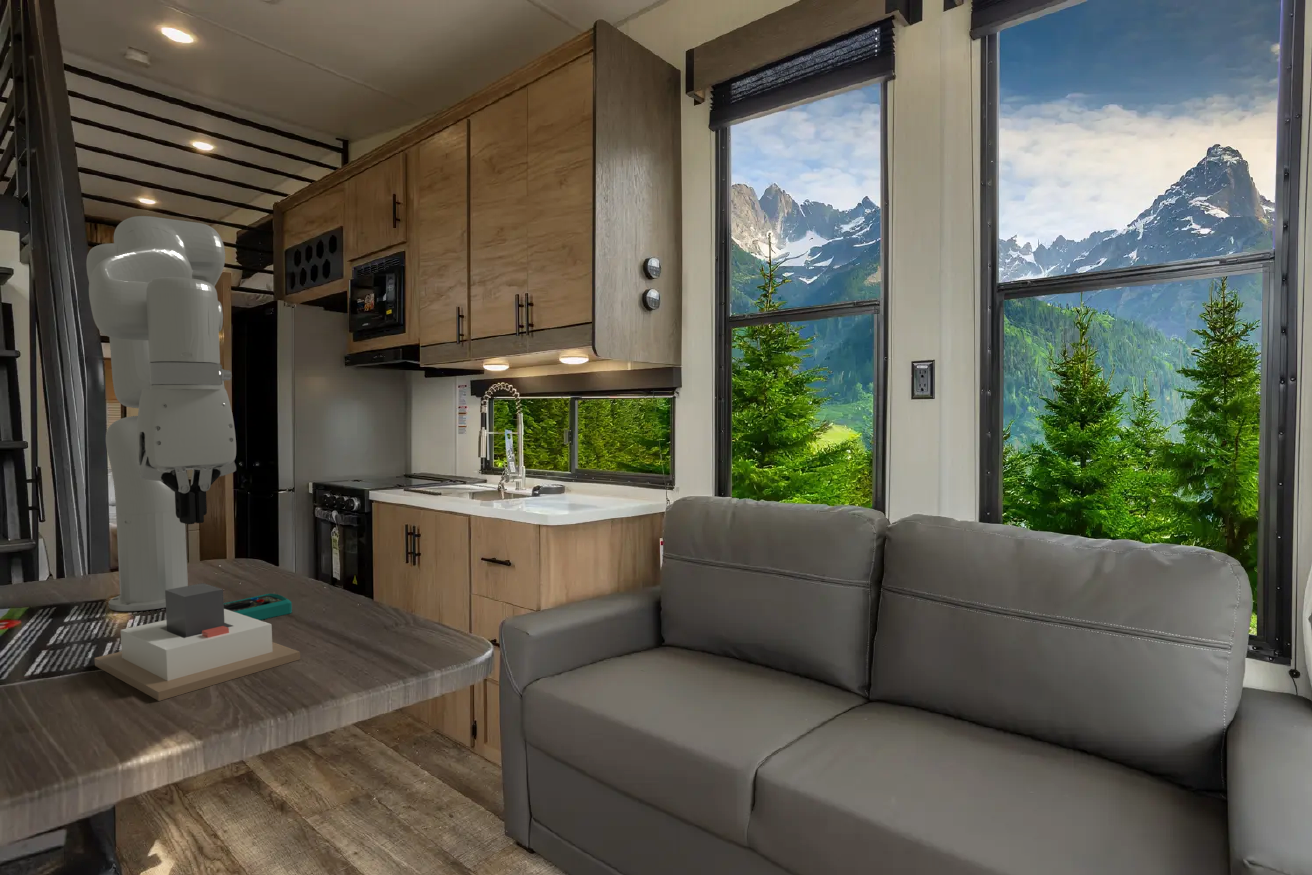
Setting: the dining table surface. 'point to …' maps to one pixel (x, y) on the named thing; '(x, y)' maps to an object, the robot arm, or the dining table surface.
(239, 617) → the socket
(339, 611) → the dining table surface
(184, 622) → the plug
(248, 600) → the digital multimeter
